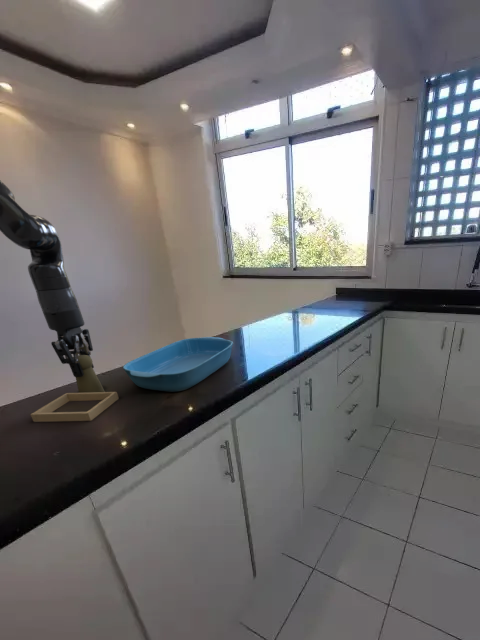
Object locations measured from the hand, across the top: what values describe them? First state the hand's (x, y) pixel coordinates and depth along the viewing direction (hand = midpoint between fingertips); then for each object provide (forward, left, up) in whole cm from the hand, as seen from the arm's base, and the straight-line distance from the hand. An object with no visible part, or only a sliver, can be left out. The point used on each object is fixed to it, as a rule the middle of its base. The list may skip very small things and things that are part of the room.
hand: (84, 372), depth 84 cm
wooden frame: (+4, -11, -6) cm, 13 cm away
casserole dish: (+22, +14, -7) cm, 27 cm away
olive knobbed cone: (0, 0, -7) cm, 7 cm away
